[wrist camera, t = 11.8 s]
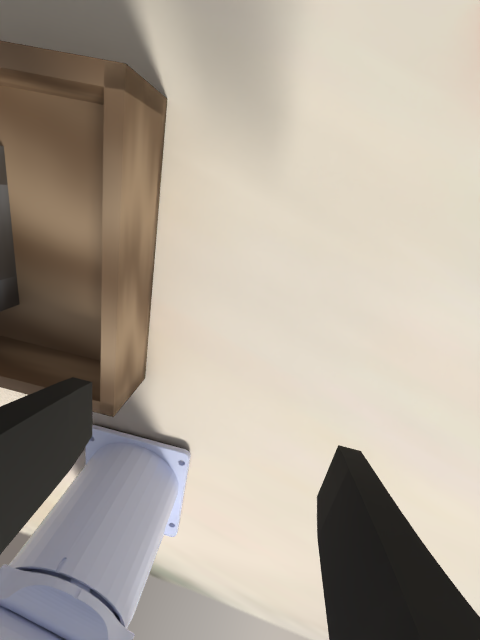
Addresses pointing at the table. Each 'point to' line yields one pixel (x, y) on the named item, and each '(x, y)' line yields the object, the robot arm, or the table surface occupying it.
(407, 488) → the table surface
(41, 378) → the brown wooden box
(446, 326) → the table surface
